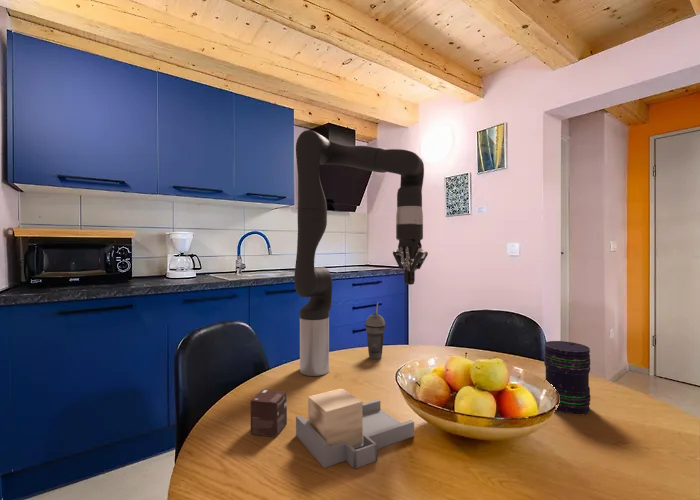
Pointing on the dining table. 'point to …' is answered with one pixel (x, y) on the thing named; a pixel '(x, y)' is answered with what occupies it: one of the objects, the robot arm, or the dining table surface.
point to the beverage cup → (375, 335)
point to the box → (268, 413)
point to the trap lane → (375, 436)
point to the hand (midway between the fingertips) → (409, 284)
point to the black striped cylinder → (569, 375)
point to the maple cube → (336, 417)
